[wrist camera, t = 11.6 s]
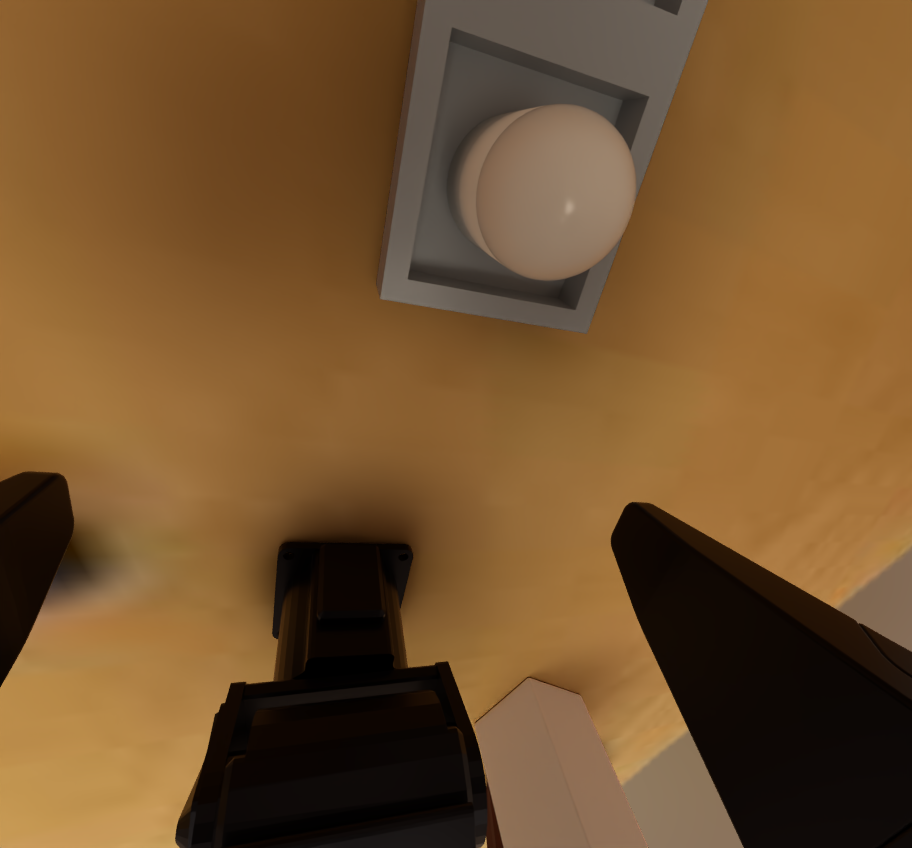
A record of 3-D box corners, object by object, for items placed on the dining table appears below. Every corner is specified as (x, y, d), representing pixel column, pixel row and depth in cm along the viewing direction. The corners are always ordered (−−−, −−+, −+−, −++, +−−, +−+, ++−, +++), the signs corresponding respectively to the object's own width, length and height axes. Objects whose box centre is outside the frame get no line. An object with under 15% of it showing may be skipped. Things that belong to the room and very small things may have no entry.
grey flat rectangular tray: (565, 317, 20) (586, 333, 18) (376, 284, 18) (380, 299, 16) (782, -325, 12) (853, -399, 11) (495, -535, 10) (527, -675, 8)
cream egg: (545, 263, 18) (629, 310, 13) (435, 240, 17) (479, 281, 12) (584, 133, 16) (701, 127, 11) (463, 95, 15) (531, 68, 10)
